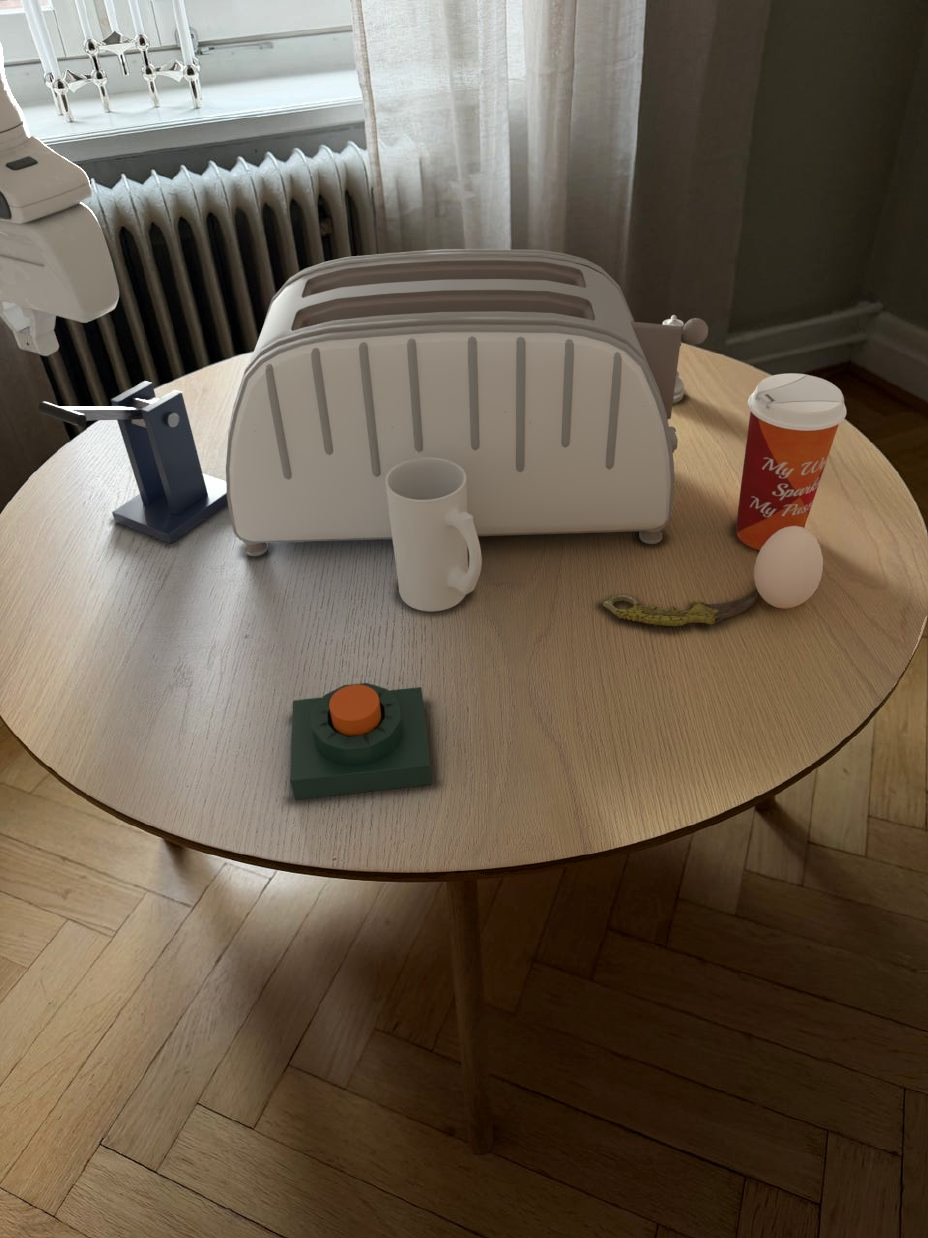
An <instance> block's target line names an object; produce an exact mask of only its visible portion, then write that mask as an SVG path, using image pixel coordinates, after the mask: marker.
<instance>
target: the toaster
mask: <svg viewBox="0 0 928 1238" xmlns="http://www.w3.org/2000/svg"><path fill="white" fill-rule="evenodd" d="M708 335H709V326H708V325H707V322H705V321H704V320H703V319H701V318H698V317H694V318H689V320H688V321H686V323H684V326H683V327H681V326H672V325H663V324H660V323H650V322H642V321H641V322H640V321H635V319H634V317H633V315H632V312H631V310H630V307H629V305H628V303H627V300H626V298H625V296H624V293H623V291H622V289H621V287H620V285H619V284H618V283H617V281H616V280H614V279H613V278H612V276H611V275H609V273H607V272H606V271H605V270H604V268H603V267H601V266H600V265H598V264H595V263H594V262H593V261H589V260H588V259H586V258H583V257H579V256H575V255H571V254H567V253H565V252H564V253H563V252H558V251H557V252H556V251H550V250H543V249H502V248H501V249H496V248H495V249H494V248H492V249H491V248H489V249H488V248H487V249H486V248H483V249H482V248H440V249H427V250H426V249H425V250H413V251H403V252H401V251H400V252H388V253H378V254H377V253H376V254H367V255H366V254H365V255H356V256H347V257H341V258H337V259H332V260H328V261H323V262H321V263H318V264H315V265H312V266H309V267H306V268H304V269H302V270H300V271H299V272H297V273H296V274H294V275H293V276H291V277H289V278H288V279H287V280H286V281H285V283H284V284H283V285H282V286H281V288H280V289H279V290H278V291H277V292H276V293H275V294H274V296H273V297H272V298H271V301H270V304H269V307H268V310H267V313H266V316H265V319H264V323H263V326H262V328H261V332H260V333H259V337H258V340H257V342H256V345H255V348H254V351H253V353H252V356H251V358H250V361H249V363H248V364H247V365H246V366H245V368H244V371H243V375H242V377H241V380H240V383H239V387H238V390H237V393H236V396H235V398H234V403H233V406H232V411H231V417H230V422H229V426H228V431H227V432H228V434H227V444H226V445H227V446H226V459H225V460H226V461H225V481H226V489H227V501H228V503H227V506H228V513H229V519H230V523H231V524H230V525H231V527H232V531H233V534H234V535H235V537H236V538H238V540H239V541H242V542H243V543H244V544H245V545H244V547H243V550H244V552H245V554H246V555H247V556H250V557H259V556H262V555H264V554H265V553H266V552H267V550H268V543H269V544H270V543H271V544H272V543H273V544H274V543H305V542H306V543H307V542H334V541H336V542H337V541H339V542H340V541H366V540H367V541H369V540H393V539H392V531H391V523H390V516H389V508H388V500H387V490H386V484H385V479H386V476H387V474H388V472H389V471H390V470H391V469H392V468H393V467H395V466H396V465H398V464H400V463H402V462H404V461H407V460H411V459H415V458H423V457H434V458H442V459H446V460H449V461H452V462H454V463H456V464H458V465H459V466H460V467H461V468H462V469H463V470H464V471H465V473H466V486H467V513H468V514H470V515H472V516H473V522H474V526H475V529H476V532H477V536H478V537H498V536H500V537H501V536H525V535H526V536H530V535H533V536H534V535H557V534H558V535H560V534H561V535H563V534H564V535H565V534H594V533H595V534H596V533H597V534H598V533H621V532H622V533H625V532H627V533H628V532H629V533H630V532H631V533H632V532H639V533H638V535H639V537H638V538H639V539H640V541H641V542H642V543H644V544H648V545H656V544H659V543H660V542H661V541H662V540H663V532H662V530H663V529H664V528H666V527H667V526H668V524H669V523H670V522H671V521H672V516H673V511H674V510H673V508H674V497H675V496H674V493H675V465H674V452H675V451H676V450H677V449H678V442H679V441H678V437H677V433H676V432H677V430H676V427H674V426H670V425H669V420H671V419H672V413H673V406H674V403H673V398H674V390H675V382H676V374H677V371H678V366H679V357H680V349H681V346H680V343H681V344H682V338H683V341H685V342H686V343H687V344H688V345H690V346H697V345H700V344H702V343H703V342H704V341H705V340H706V338H707V337H708Z"/></svg>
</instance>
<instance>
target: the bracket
mask: <svg viewBox="0 0 928 1238" xmlns="http://www.w3.org/2000/svg"><path fill="white" fill-rule="evenodd" d="M133 398H157V396H156V392H155V388H154V385H153V382H149V381H146V380H144V381H142V382H140V383H139V384H137V385H135V386H134V387H131V388H129V389H127V390H126V391H124V392H122V393H121V394H119V395H117V396H115V397H113V398H111V399H110V402H111V406H112V407H132V403H133ZM157 399H158V400H157V401H155V402H153V403H151V404H150V405H148V406H146V407H144V408H143V409H141V412H142V415H143V419H144V422H145V425H146V428H145V427H142V426H139V425H136V424H133V423H131V420H116V421H117V424H118V427H119V431H120V434H121V437H122V441H123V444H124V446H125V450H126V454H127V457H128V460H129V463H130V465H131V470H132V473H133V475H134V479H135V482H136V485H137V488H138V492H139V494H137V495H136V496H134V497H133V498H131V499H129V500H128V501H127V502H125V503H123V504H122V505H120V506H119V507H117V508H116V509H115V510H113V511H112V512H111V513H112V516H113V520H114V522H115V523H117V524H119V525H123V526H125V527H128V528H130V529H133V530H135V531H138V532H140V533H143V534H145V535H147V536H149V537H153V538H155V539H158V540H160V541H163V542H166V543H168V544H171V545H172V544H174V543H175V542H176V541H177V540H179V539H180V538H182V537H183V536H185V535H187V533H188V532H190V531H192V530H193V529H194V528H196V527H197V526H198V525H200V524H201V523H203V522H204V521H205V520H207V519H208V518H210V517H211V516H212V515H214V514H215V513H217V512H218V511H219V510H221V509H222V508H224V507H225V506H226V505H228V501H227V489H226V480H223V479H219V478H217V477H214V476H211V475H208V474H205V473H203V469H202V466H201V461H200V458H199V454H198V450H197V445H196V442H195V438H194V433H193V431H192V427H191V423H190V419H189V415H188V411H187V406H186V403H185V400H184V395H183V392H182V391H179V390H176V389H174V390H172V391H170V392H169V393H167V394H165V395H164V396H162V397H159V398H157Z"/></svg>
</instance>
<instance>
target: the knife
mask: <svg viewBox="0 0 928 1238" xmlns="http://www.w3.org/2000/svg"><path fill="white" fill-rule="evenodd" d="M759 596H760V594H759V592H758V591H757V588H756V587H755V588H754V589H753V590H752V591H751V592H750V593H748V594H746V595H745V596H743V597H740V598H738V599H734V600H731V601H727V602H720V603H705V602H703V601H701V600H696V599H695V600H694V601H693V603H692V607H691V608H689V609H686V610H680V609H678V608H677V607H675V606H672V607H671V608H665V609H664V608H660V607H658V606H657V605H650V606H644V605H641V603H640V602H638V600H637V599H635V598H634V597H632V596H631V595H626V594H625V595H624V594H618V595H614V596H612V597H611V598H610V599H608V600H604V601H603V602H602V606H603V607H604V608H606V609H607V610H608V611H610V612H612V614H614V615H615V616H616V617H617V618H618V619H623V620H627V621H631V620H632V622H637V623H640V622H641V623H642V624H648V625H656V626H668V627H682V626H684V625H686V624H691V623H703V624H707V625H709V626H710V625H715V623H718V622H721V621H722V620H723V619H726V618H731V617H734V616H737V615H738V614H741V613H743V612H745V611H746V610H748V609H749V608H751V607H752V606H753V605H754V604H755V603H756V601H757V600H758V598H759ZM616 602H627V603H630V604H632V606H631V607H629V608H625V609H621V608H617V607H615V606H614V603H616Z"/></svg>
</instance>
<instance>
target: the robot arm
mask: <svg viewBox="0 0 928 1238" xmlns="http://www.w3.org/2000/svg"><path fill="white" fill-rule="evenodd" d="M92 194H93V192H92V187H91V184H90V180H89V177H88V175H87V173H86V171H84V169H82V168H81V167H80V166H79V165H77V164H76V163H73V162H72V161H70V160H69V159H67V158H65V157H64V156H62V155H60V154H59V153H58V152H56V151H54V150H53V149H51V148H50V147H49V146H47V145H46V144H45V143H43V142H42V141H41V140H40V139H39V138H38V137H36V136H34V135H30V132H29V129H28V125H27V122H26V119H25V116H24V113H23V111H22V109H21V107H20V106H19V104H18V103H17V101H16V99H15V98H14V96H13V94H12V92H11V89H10V87H9V85H8V82H7V79H6V75H5V68H4V53H3V47H2V44H1V43H0V318H1V319H2V320H3V322H4V323H5V324H6V325H7V327H8V328H9V329H10V331H12V333H13V336H14V339H15V341H16V344H17V347H18V348H19V349H20V350H23V351H26V352H30V353H34V354H38V355H40V356H44V357H48V356H50V355H52V354H54V353H56V352H58V350H59V348H60V344H59V342H58V339H57V336H56V332H55V327H56V319H57V317H59V318H64V319H68V320H71V321H74V322H78V323H84V324H85V323H88V322H91V321H94V320H96V319H98V318H100V317H103V316H104V315H107V314H109V313H110V312H112V311H114V310H115V309H116V307H117V305H118V303H119V302H118V301H119V298H120V289H119V283H118V279H117V275H116V271H115V269H114V264H113V260H112V257H111V254H110V251H109V247H108V243H107V242H106V239H105V235H104V232H103V229H102V227H101V224H100V223H99V221H98V219H97V217H96V215H95V214H94V212H93V210H91V209H90V208H89V207H88V206H87V205H86V204H85V203H83V202H86V201H87V200H89V199H91V198H92Z"/></svg>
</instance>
